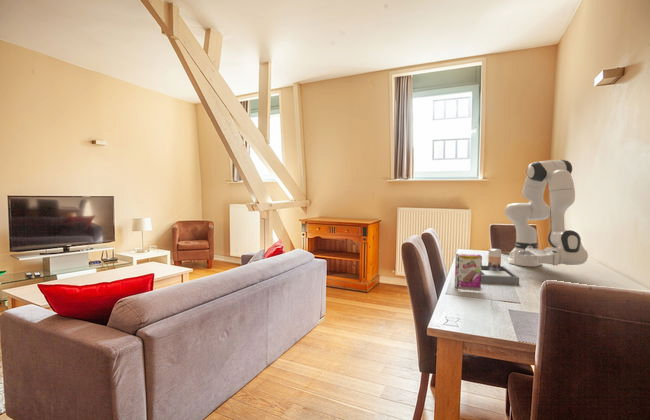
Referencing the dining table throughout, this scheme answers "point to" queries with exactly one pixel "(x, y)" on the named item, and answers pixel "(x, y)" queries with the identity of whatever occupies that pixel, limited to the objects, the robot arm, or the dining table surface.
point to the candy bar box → (468, 270)
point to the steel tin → (494, 260)
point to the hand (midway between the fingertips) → (521, 254)
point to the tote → (500, 277)
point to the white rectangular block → (494, 273)
